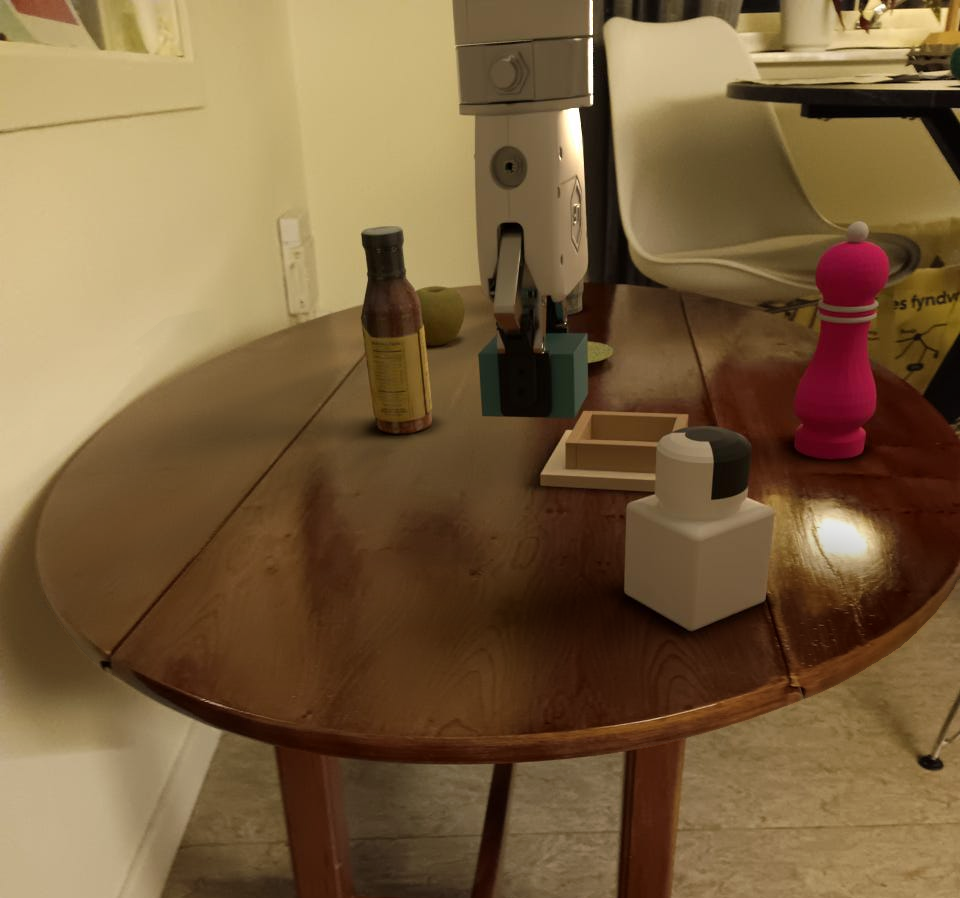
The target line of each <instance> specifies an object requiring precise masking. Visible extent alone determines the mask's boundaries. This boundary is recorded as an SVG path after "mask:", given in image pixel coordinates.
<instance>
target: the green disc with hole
mask: <svg viewBox="0 0 960 898" xmlns="http://www.w3.org/2000/svg"><path fill="white" fill-rule="evenodd" d="M614 352H615V351H614V349H613V347H611V345H608V344H605V343H602V342H595V341H588V364H591V363H595V362H600V361H603V360H605V359H607V358H609V357H611V356H612V355H613V354H614Z"/></svg>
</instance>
